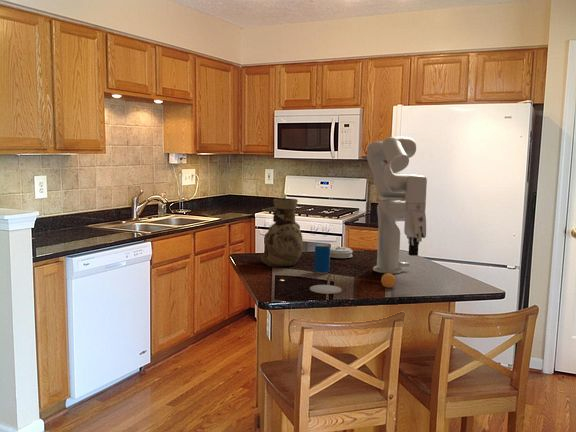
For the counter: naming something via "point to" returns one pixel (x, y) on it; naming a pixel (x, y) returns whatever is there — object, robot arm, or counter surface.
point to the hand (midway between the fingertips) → (413, 255)
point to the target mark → (325, 289)
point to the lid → (340, 252)
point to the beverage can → (322, 258)
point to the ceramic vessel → (283, 236)
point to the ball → (388, 280)
